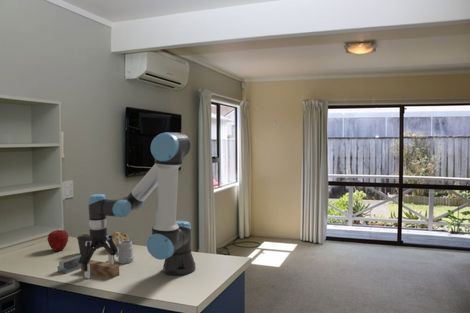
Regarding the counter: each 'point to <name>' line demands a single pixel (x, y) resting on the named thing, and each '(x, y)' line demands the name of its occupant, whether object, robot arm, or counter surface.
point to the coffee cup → (82, 241)
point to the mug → (124, 251)
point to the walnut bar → (103, 269)
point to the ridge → (69, 264)
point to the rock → (120, 237)
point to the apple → (58, 239)
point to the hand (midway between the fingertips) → (99, 273)
